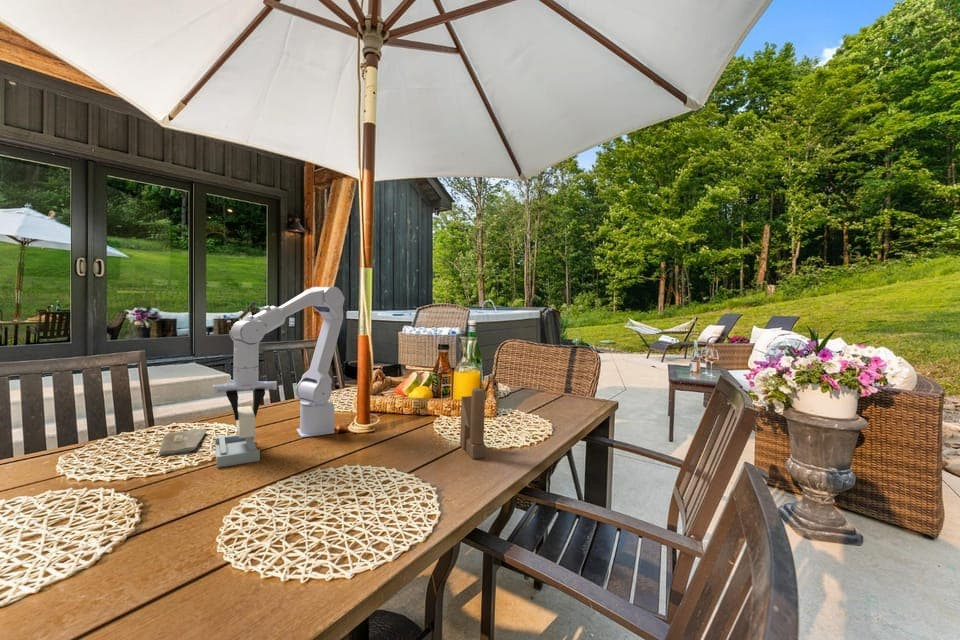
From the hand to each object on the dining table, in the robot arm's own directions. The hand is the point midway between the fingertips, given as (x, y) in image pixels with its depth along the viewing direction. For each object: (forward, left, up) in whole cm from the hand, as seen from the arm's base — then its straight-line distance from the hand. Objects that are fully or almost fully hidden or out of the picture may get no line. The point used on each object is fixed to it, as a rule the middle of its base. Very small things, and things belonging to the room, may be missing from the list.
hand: (245, 418), depth 112 cm
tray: (+2, +1, -9) cm, 9 cm away
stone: (+14, -14, -9) cm, 21 cm away
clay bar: (0, 0, -3) cm, 3 cm away
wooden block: (-53, +28, -9) cm, 60 cm away
